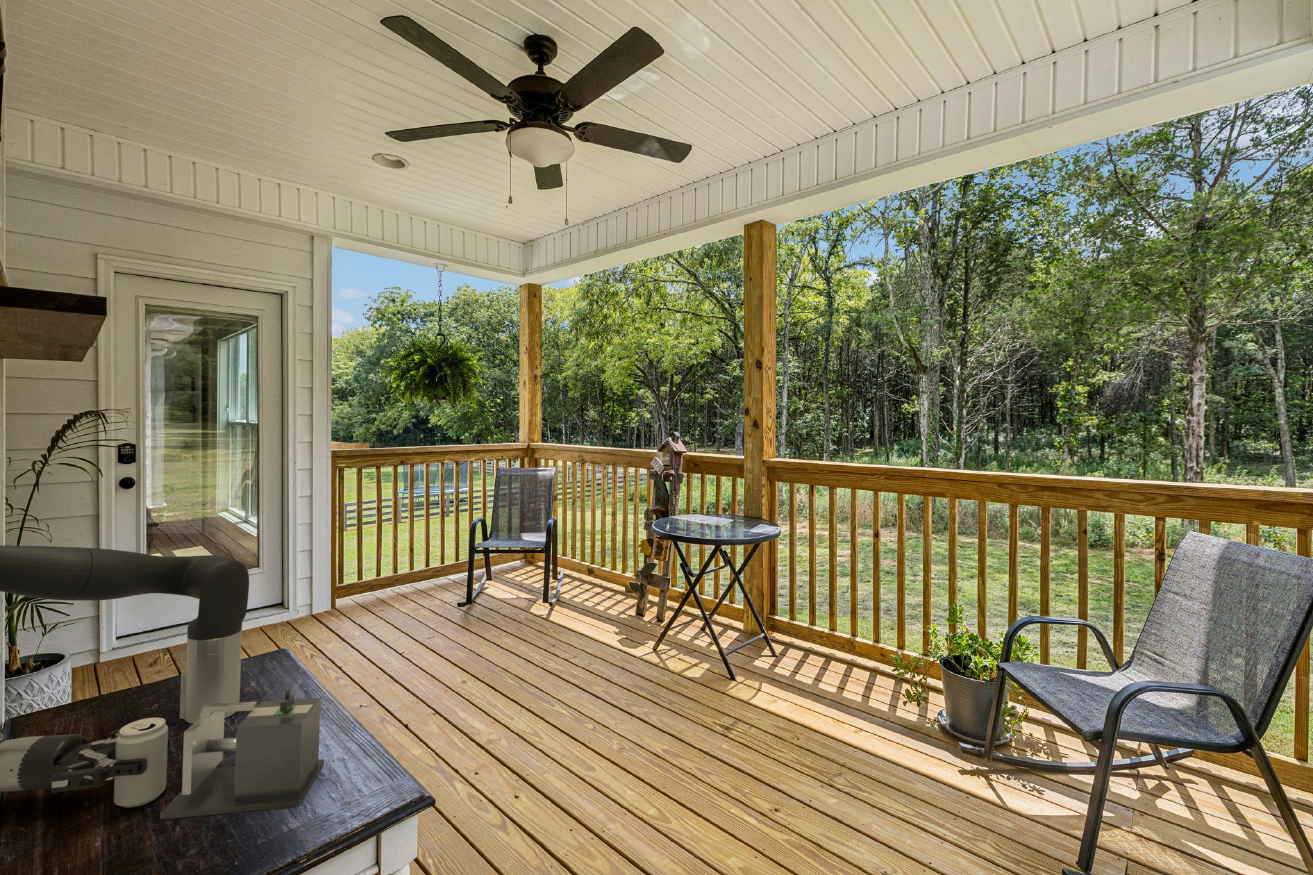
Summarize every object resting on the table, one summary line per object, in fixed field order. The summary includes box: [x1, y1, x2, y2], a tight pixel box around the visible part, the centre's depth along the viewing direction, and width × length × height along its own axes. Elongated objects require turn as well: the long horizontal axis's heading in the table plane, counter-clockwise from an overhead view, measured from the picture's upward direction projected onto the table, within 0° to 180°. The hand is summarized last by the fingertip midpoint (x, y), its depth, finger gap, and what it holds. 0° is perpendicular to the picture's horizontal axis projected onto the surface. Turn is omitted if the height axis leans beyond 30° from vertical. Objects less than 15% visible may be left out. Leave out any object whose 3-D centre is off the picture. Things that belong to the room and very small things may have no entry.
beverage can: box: [113, 717, 169, 809], centre depth 95 cm, size 6×6×12 cm
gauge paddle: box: [181, 701, 258, 795], centre depth 97 cm, size 9×10×12 cm
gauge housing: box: [159, 697, 325, 821], centre depth 98 cm, size 20×12×13 cm, turn 103°
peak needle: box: [280, 687, 295, 712], centre depth 99 cm, size 1×3×3 cm, turn 13°
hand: (158, 754), depth 95 cm, fingers closed on beverage can, 6 cm apart
